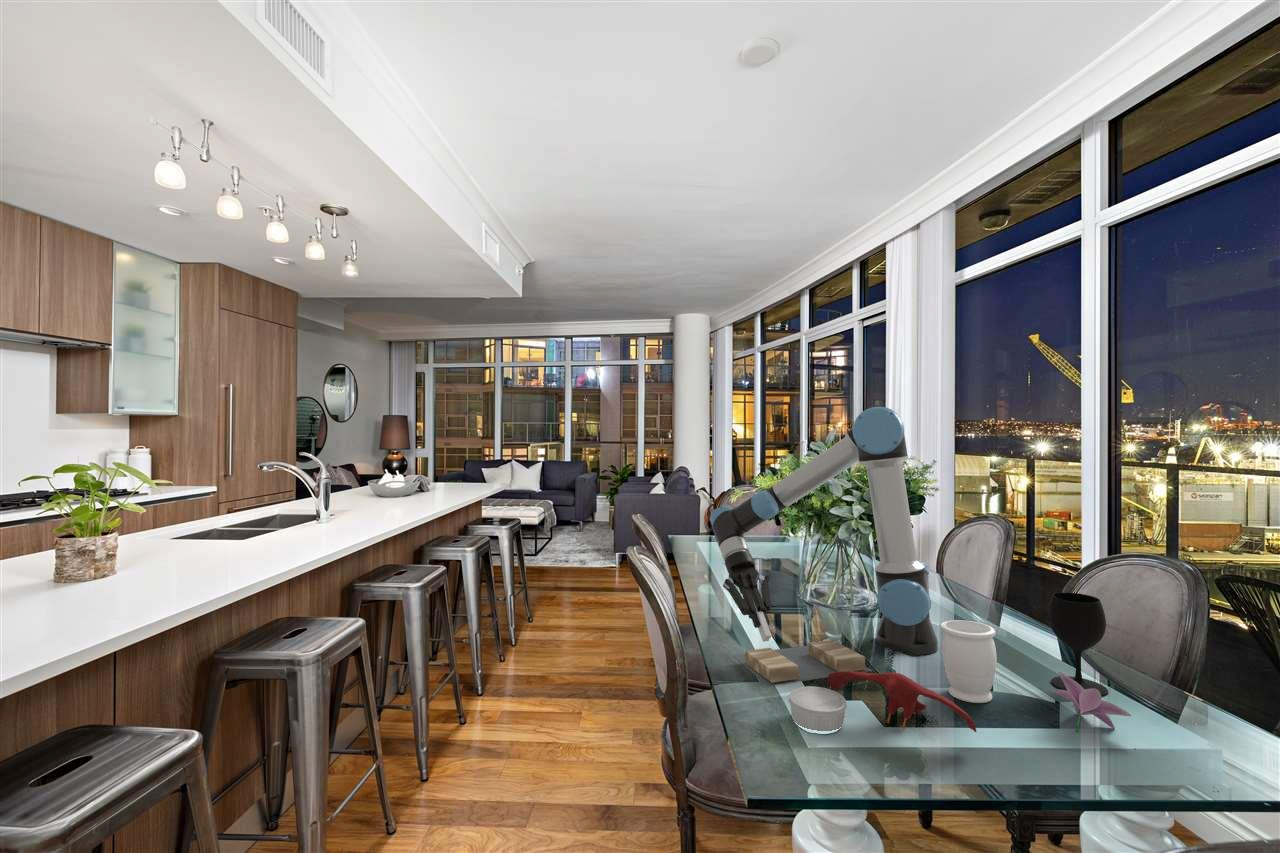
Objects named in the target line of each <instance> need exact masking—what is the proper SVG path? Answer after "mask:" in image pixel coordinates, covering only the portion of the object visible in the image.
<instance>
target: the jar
mask: <svg viewBox="0 0 1280 853" xmlns="http://www.w3.org/2000/svg"><path fill="white" fill-rule="evenodd" d="M941 630H942V631H943V632H944V633H943V637H942V642H941V653H942V659H943V660H942V661H943V665H944V670H945V671H944V672H945V675H946V677H947V681H948V682H949V685H950V686H949V688H948V693H949V694H950V695H951V696H952V697H953V698H955V699H958V700H960V701H963V702H967V703H972V704H985V703H989V702H991V701H992V699H993V694H992V693H991V690H992V688H993V685H994V682H995V674H996V671H997V649H996V645H995V641H994V637H995V636H996V629H995V628H994V627H992V626H991V625H989V624H986V623H982V622H978V621H971V620H964V619H963V620H961V619H958V620H957V619H956V620H955V619H954V620H946V621H944V622H942V623H941Z"/></svg>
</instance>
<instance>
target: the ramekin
mask: <svg viewBox="0 0 1280 853" xmlns="http://www.w3.org/2000/svg"><path fill="white" fill-rule="evenodd" d="M788 702H789V704H790V710H791V717H792V721H793V720H794V721H795V722H796V723H797V724H798V725H800V726H802V727H804V728H807V729H811V730H817V731H832V730H836V729H839V728H840V727H841V728H842V727H843V726H842V725H844V721H845V714H846V709H847V699H846V698H845V697H844V696H843V695H842V694H841V693H839V691H838V692H837V691H835V690H834V689H830V688H827V687H826V688H825V687H821V686H814V685H813V686H810V685H809V686H808V685H807V686H800V687H797V688H794V689H793V690H791V691H790V692H789V693H788ZM794 721H793V722H794ZM795 722H794V723H795Z"/></svg>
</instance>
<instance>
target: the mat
mask: <svg viewBox="0 0 1280 853" xmlns="http://www.w3.org/2000/svg"><path fill="white" fill-rule="evenodd" d="M774 650H775V651H776V652H778V653H779V654H781V655H782V656H784V657H786V658H787V659H789V660H790V661H792V662H793V663H795V664H796V665H798V670H799V679H794V680H787V681H780V682H773V683H771V682H770V681H769V680H767V679H766V678H765V677H763V676H762V675H761V674H760V673H758V672H757V671H756V670H754V669H753V668H752V667H750V666H749V665H748V664H746V661H745V653H739V654H732V655H731V656H732V657H733V658H734V659H735V660H737V661H738V662H739V663H740V664H741V665H742V666H744V668H745V669H747V670H748V671H749V672H751V673H752V674H753V675H754V676H755V677H756V678H757V679H759V680H760V681H761V682H762V683H764V685H766V686H767V687H771V686H778V685H785V684H790V683H798V682H804V681H812V680H818V679H826V678H827V679H828V675H829V674H831V673H834V672H837V671H836V670H834V669H832V668H831V667H829V666H827V665H826V664H824V663H822V662H821V661H819V660H817V659H816V658H814V657H812V656H811V655H809V647H808V645H801V646H795V647H787V648H778V649H774ZM865 667H866V669H865V670H858V671H857V672H865V673H870V672H874V671H873V670H872V668H869V667H868V666H866V665H865ZM854 672H856V671H854Z"/></svg>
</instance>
